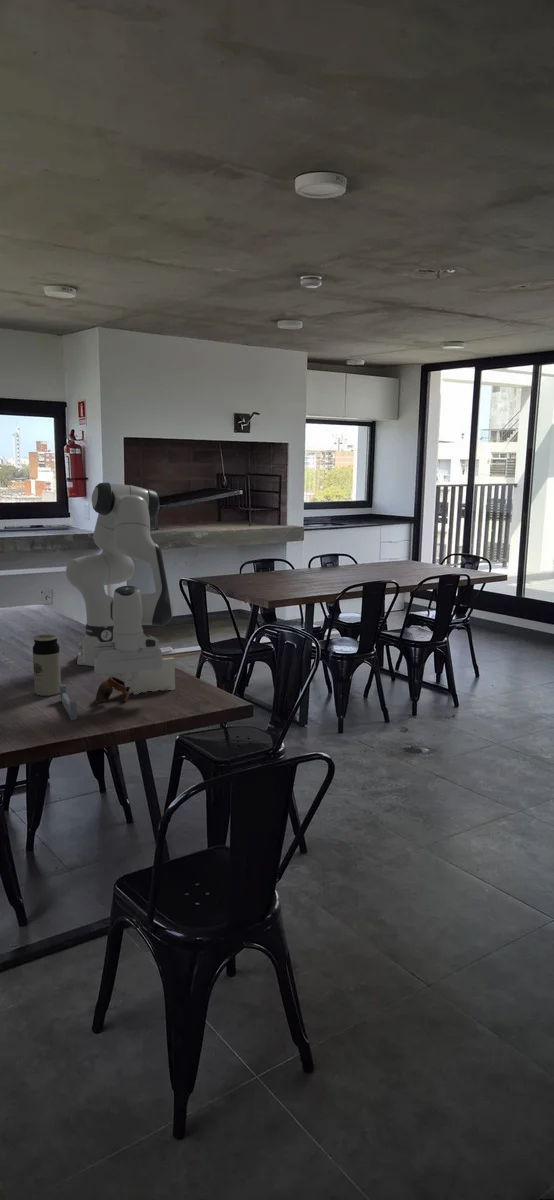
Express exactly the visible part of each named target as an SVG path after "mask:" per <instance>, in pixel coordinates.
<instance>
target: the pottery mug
mask: <svg viewBox="0 0 554 1200" xmlns="http://www.w3.org/2000/svg"><path fill="white" fill-rule="evenodd" d="M98 686H99V687H98V688H97V692H96V696H95V698H94V699H95V701H96V703H97V704H100V705H101V702H102V703H108V701H109V699H110V697H111V695H112V694H113V690H115V691H118V692H121V693H122V694H124V698H123V702H125V703H127V701H128V700H129V698H130V694H129V689H130V687H125V685H124V680H121V679H119V678H117V677H114V676H109V677H108V679H105V680H104V681H102V682H101V683H100V685H98Z"/></svg>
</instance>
